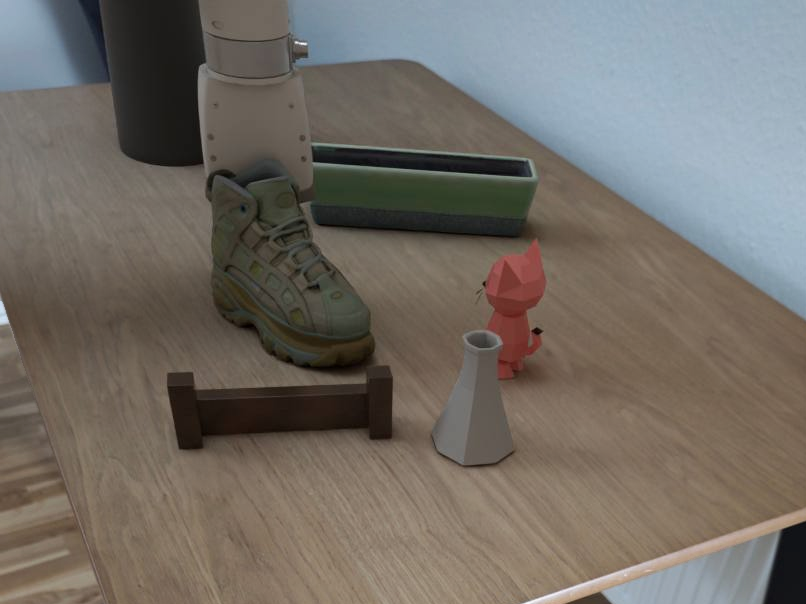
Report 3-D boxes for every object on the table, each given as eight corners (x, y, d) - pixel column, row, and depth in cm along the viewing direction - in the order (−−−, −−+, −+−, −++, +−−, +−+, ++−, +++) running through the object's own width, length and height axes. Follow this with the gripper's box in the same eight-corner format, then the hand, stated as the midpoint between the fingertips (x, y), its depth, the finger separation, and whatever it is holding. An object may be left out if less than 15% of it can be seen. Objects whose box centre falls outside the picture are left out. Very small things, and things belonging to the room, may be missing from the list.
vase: (245, 155, 119) (217, -128, 98) (149, 172, 112) (97, -127, 91) (195, 122, 125) (159, -150, 104) (102, 137, 119) (43, -150, 97)
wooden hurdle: (178, 449, 74) (166, 385, 70) (179, 425, 77) (167, 363, 72) (391, 438, 78) (393, 377, 74) (386, 416, 80) (387, 356, 76)
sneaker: (290, 391, 81) (291, 220, 71) (194, 304, 91) (183, 144, 81) (388, 370, 87) (402, 209, 77) (288, 291, 97) (289, 139, 87)
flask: (484, 412, 82) (495, 310, 75) (529, 454, 78) (545, 351, 71) (416, 431, 79) (421, 327, 72) (459, 476, 75) (468, 371, 68)
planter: (526, 217, 113) (533, 157, 108) (531, 242, 108) (539, 180, 103) (306, 203, 110) (303, 140, 105) (302, 228, 105) (298, 163, 100)
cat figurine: (494, 343, 91) (507, 224, 82) (553, 365, 89) (572, 246, 80) (458, 371, 87) (467, 249, 78) (519, 396, 85) (536, 273, 76)
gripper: (328, 44, 83) (335, 241, 96) (160, 38, 80) (192, 243, 93) (338, 69, 78) (344, 273, 91) (160, 64, 75) (193, 277, 88)
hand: (267, 258), depth 92 cm, fingers closed
